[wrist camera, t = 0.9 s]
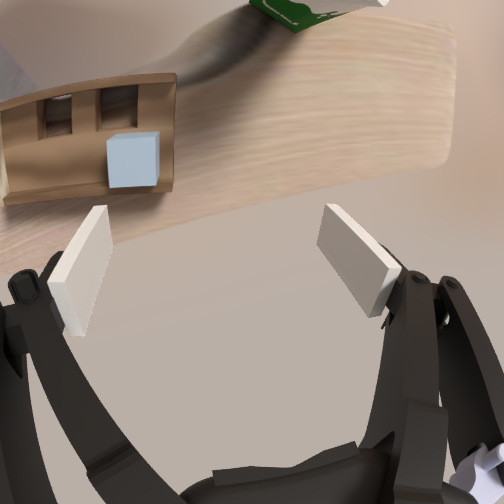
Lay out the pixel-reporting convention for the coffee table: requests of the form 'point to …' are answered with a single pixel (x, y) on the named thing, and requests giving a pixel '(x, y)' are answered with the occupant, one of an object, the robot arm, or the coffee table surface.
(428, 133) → the coffee table surface
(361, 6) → the milk carton
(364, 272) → the robot arm
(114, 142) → the blue block
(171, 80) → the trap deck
